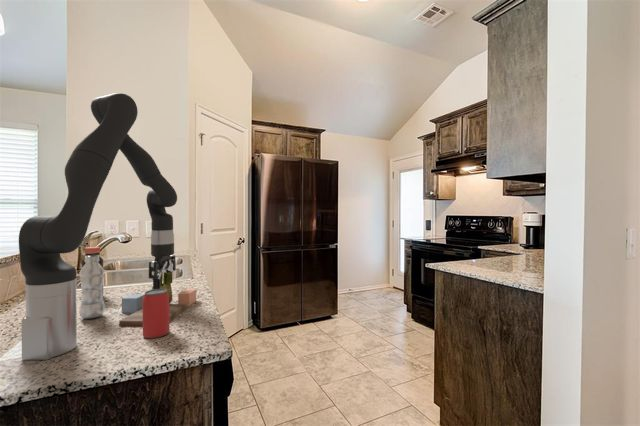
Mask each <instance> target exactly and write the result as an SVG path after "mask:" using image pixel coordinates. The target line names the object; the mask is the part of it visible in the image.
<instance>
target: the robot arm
mask: <svg viewBox="0 0 640 426" xmlns="http://www.w3.org/2000/svg"><path fill="white" fill-rule="evenodd" d="M90 109H91V110H90V111H91V113H92V115H93V117H94V120H96V122H97V123H98V126H97V127H96V128H95V129H93V130H92V132H90V133H89V134H88V135H86V137H84V138H83V139H82V140H81V141H80V142H79V143H78V144H77V145H76V146H75V148H74V149H73V151H72V153H71V154H70V156H69V158H68V160H67V162H66V164H65V166H64V179H65V182H66V187H67V191H68V192H67V197H66V200H65V202H64V204H63V207H62V208H61V210H60V211H59V213H58V214H57V215H36V216H32V217H29V218H28V219H27V220H24V221H25V222H23V223H22V226H21V227H20V230H19V233H18V251H19V263H20V270H21V273H22V274H23V276H24V279H25V317H23V318H22V319H21V360H23V361H24V360H27V361H28V360H31V361H32V360H36V361H37V360H39V361H40V360H45V361H46V360H50V359H52V358H55V357H58V356H61V355H63V354H66V353H68V352H71V351H72V350H74V349H75V348H76V347H77V344H78V343H77V342H78V340H77V337H78V336H77V334H78V333H77V329H78V328H77V327H78V326H77V321H78V320H77V269H76V267H75V266H73V265H71V264H70V263H67V262H66V261H64V260H63V258H62V257H61V254H70V253H72V252H74V251H76V250H77V249H78V248H79V247H80V246H81V244H82V243H83V241H84V240H85V237H86V234H87V232H88V228H89V225H90V222H91V218H92V215H93V213H94V208H95V205H96V203H97V201H98V198H99V195H100V193H101V191H102V189H103V185H104V183H105V182H106V180H107V178H108V175H109V173H110V171H111V169H112V167H113V164H114V161H115V159H116V157H117V155H118V152H119V151H120V152H121V153H122V154H123V156H124V157H125V158H126V160H127V161H128V163H129V165H130V166H131V167H132V170H133V171H134V173H135V174H136V176H137V178H138V180H139V181H140V183H141V184H142V185H143V186H145V187H148V188H150V190H149V191H148V193H147V194H146V205H147V208H148V213H149V215H150V218H151V235H150V255H151V256H152V257H154V261H153V260H151V261H150V260H149V261H148V279H151V280H152V286H153V289H160V277H161V274H162V273H163V274H164V272H167V273H171V284H172V283H173V273H174V271H176V270H177V269H176V268H177V265H176V255H174V254H175V233H174V217H173V215H172V214H169V213H168V212H167V210H166V208H171V207H174V206H175V205H176V204H177V201H178V195H177V192H176V190H175V188H174V186H173V185H171V183H170V182H169V180H167V179H166V178H165V176H163V175H162V173H161V170H160V168H159V167H158V165H157V164H156V162H155V159H154V158H153V157H152V155H151V154H149V152H147V150H145V149H144V148H143V147H142V146H141V145H139V143H137V142H136V141H135V140H134V139H133V138H132V137H131V136H130V135H129V134H128V133H129V132H130V130H131V128H132V127H133V126H134V124H135V122H136V120H137V118H138V113H139V112H138V106H137V104H136V102H135V100H134V98H132V96H130V95H128V94H126V93H123V92H122V93H121V92H120V93H119V92H116V93H111V94H107V95H102V96H98V97H95V98H94V99H93V100H92V101H91V103H90Z"/></svg>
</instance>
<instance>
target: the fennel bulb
mask: <svg viewBox="0 0 640 426" xmlns="http://www.w3.org/2000/svg"><path fill="white" fill-rule="evenodd" d="M171 284H172V283H171V273H167V272H165V271H164V272H163V273H162V274H161V277H160V289H166V290H167V293H168V295H169V304H172V303H171V302H172V301H173V289H172V285H171ZM153 290H154V289H153Z"/></svg>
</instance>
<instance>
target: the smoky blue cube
mask: <svg viewBox="0 0 640 426" xmlns="http://www.w3.org/2000/svg"><path fill="white" fill-rule="evenodd" d="M144 295H145V293H142V294H141V293H138V294H137V293H134V294H132V293H131V294H129V295H127V296H124V297H122V298H121V313H122V314H133V313H135V312H137V311H138V310H140V309H142V308H143V297H144Z"/></svg>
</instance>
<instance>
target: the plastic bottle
mask: <svg viewBox="0 0 640 426" xmlns="http://www.w3.org/2000/svg"><path fill="white" fill-rule="evenodd" d="M99 256H100V254H99V255H88V256H86V255H84V258H85V262H86V264H85V265H84V266H83V267H82V266H81V269H80V271H79V280H80V284H81V285H80V287H81V300H80V302H81V303H80V307H79V315H80V317H81V318H82V319H85V320H87V319H96V318H99V317H101V316H103V315H104V313H105V310H106V305H105V301H104V291H103V292H102V289H103V290H104V278H105V277H104V276H105V270H104V266H103V267H102V266H101V265H100V264H99V263H98V261H99ZM102 287H103V288H102Z"/></svg>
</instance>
